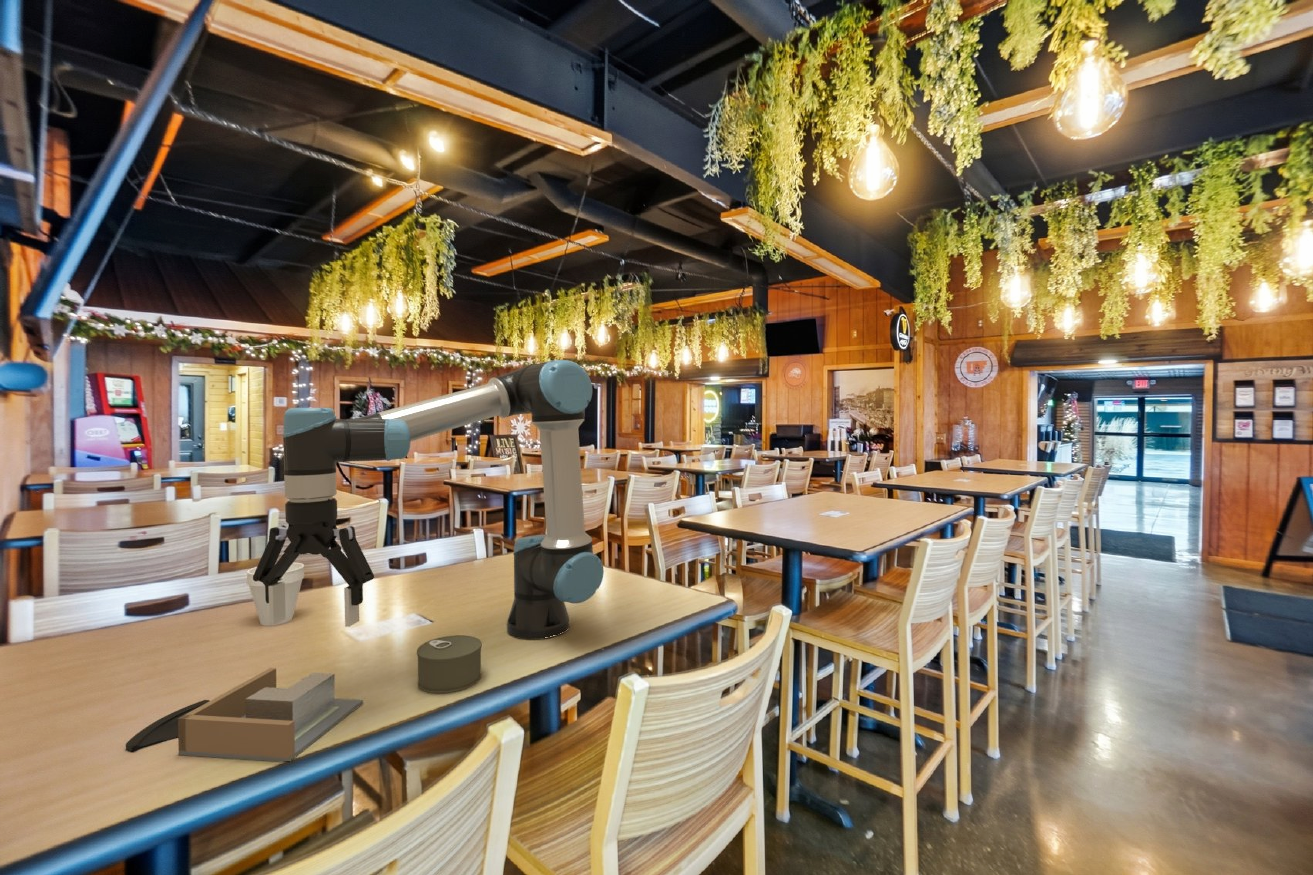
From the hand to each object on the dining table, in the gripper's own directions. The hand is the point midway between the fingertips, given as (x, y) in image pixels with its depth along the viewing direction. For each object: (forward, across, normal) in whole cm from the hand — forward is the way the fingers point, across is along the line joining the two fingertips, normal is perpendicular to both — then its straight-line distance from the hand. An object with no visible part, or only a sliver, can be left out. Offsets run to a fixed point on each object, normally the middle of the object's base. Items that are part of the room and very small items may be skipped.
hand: (314, 623), depth 97 cm
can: (+17, -16, -16) cm, 28 cm away
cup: (+17, +43, -44) cm, 64 cm away
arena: (+16, +4, +3) cm, 17 cm away
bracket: (+16, +2, +3) cm, 16 cm away
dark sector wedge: (+17, +21, +5) cm, 27 cm away
